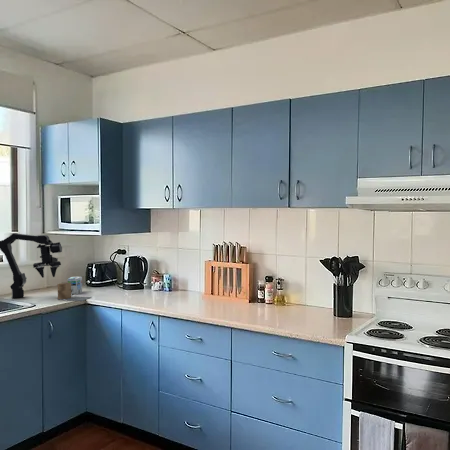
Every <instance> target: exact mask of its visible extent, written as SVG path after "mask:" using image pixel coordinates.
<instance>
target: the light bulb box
mask: <svg viewBox="0 0 450 450" xmlns="http://www.w3.org/2000/svg"><path fill="white" fill-rule="evenodd" d="M67 283H71V295H78V294H81V293H83V276H70V277H69V278H67Z"/></svg>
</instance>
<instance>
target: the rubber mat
mask: <svg viewBox="0 0 450 450" xmlns="http://www.w3.org/2000/svg"><path fill="white" fill-rule="evenodd" d="M91 298H92V296H71V298H69V299H66V300H67V302H83V301H86V300H89V299H91Z"/></svg>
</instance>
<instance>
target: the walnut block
mask: <svg viewBox="0 0 450 450" xmlns="http://www.w3.org/2000/svg"><path fill="white" fill-rule="evenodd" d="M69 298H72V294H71V283H68V282H59V283H57V300H58V299H61V300H62V301H63V300H64V301H65V300H66V299H69ZM61 300H60V301H61Z"/></svg>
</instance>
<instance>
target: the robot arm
mask: <svg viewBox="0 0 450 450" xmlns="http://www.w3.org/2000/svg"><path fill="white" fill-rule="evenodd" d="M17 240H18V241H19V240H20V241H28V242H29V241H30V242H35V243H37V244H38V245H37V246H36V249H40V256H39V258H40V259H41V262H35V263H33V264H32V268H33V269H35V270H36V271H37V272H38V274H39V275H40V277H41V278H45V274H44V273H45V272H44V269H45V267H49V268H50V272H51V276H52V278H56V273H57V269H58V268H59V267H60V266H61V265H62V263H61V261H59V258H58V257H55V256H53V255H52V254H57V253H58V254H59V253H63V246H62V244H61V242H60V241H58V242H53V241H52V240H51V239H50V237H49V235H48V234H38V235H35V234H34V235H33V234H24V233H17V232H14V233H11V234H10V235H9V236H7V237H5V238H4V239H2V240H0V251H1V253H2V254H4V256H5V259H6V260H7V264H8V266H9V268H10V270H11V272H12V280H13V281H12V282H13V283H12V284H11V285H10V286H9V287H10V289H11V298H12V299H21V298H24V296H25V291H24V289H23V288H24V285H25V284H26V283H27V276H26V274H25V272H23V273H22V272H21V271H20V268H19V265H18V263H17V261H16V258H15V256H14V254H13V245H12V244H14V243H15V241H17ZM51 253H52V254H51Z"/></svg>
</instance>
